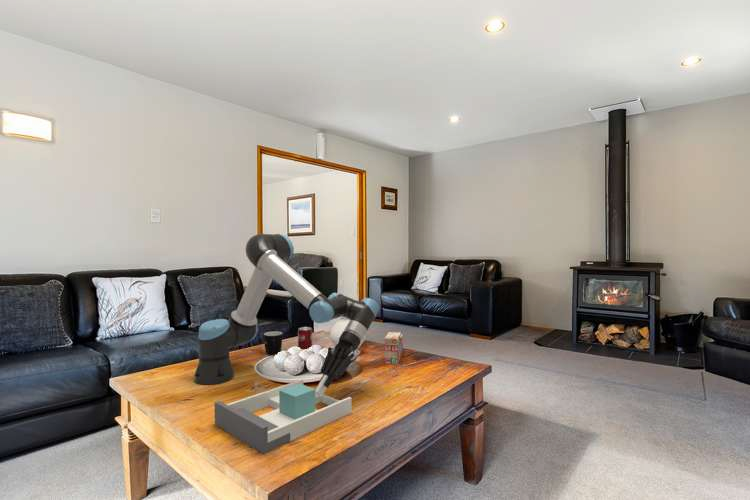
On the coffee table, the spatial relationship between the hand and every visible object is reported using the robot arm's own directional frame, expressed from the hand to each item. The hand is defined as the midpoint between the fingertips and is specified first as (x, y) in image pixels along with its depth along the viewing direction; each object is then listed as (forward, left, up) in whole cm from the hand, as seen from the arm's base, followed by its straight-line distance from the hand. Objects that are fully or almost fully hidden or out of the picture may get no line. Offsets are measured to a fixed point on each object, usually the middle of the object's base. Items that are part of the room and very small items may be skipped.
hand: (317, 394), depth 133 cm
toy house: (+28, +61, -6) cm, 67 cm away
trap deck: (-9, -6, -6) cm, 12 cm away
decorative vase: (+5, +68, -6) cm, 68 cm away
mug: (-32, +65, -6) cm, 73 cm away
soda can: (-17, +70, -6) cm, 72 cm away
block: (-5, -7, -3) cm, 9 cm away
